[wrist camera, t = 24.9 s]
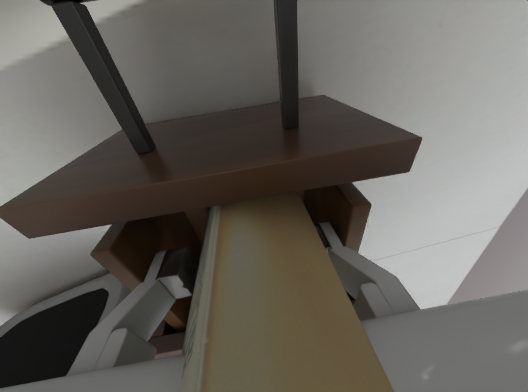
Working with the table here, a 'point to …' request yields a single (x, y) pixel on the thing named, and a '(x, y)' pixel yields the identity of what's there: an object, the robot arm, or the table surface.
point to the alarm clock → (55, 331)
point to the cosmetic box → (273, 308)
